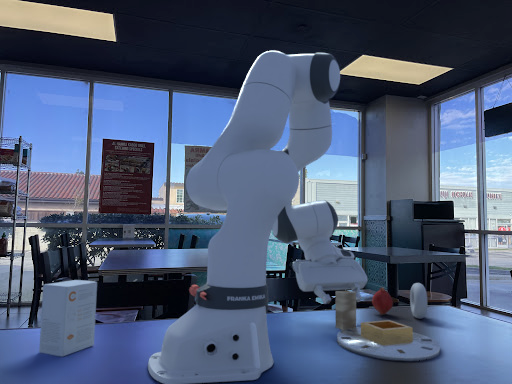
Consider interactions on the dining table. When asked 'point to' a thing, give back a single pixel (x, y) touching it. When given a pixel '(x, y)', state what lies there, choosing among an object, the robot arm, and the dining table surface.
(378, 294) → the onion
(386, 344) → the slotted white disc
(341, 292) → the tall beige block
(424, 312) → the donut
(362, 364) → the dining table surface
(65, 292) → the small box
